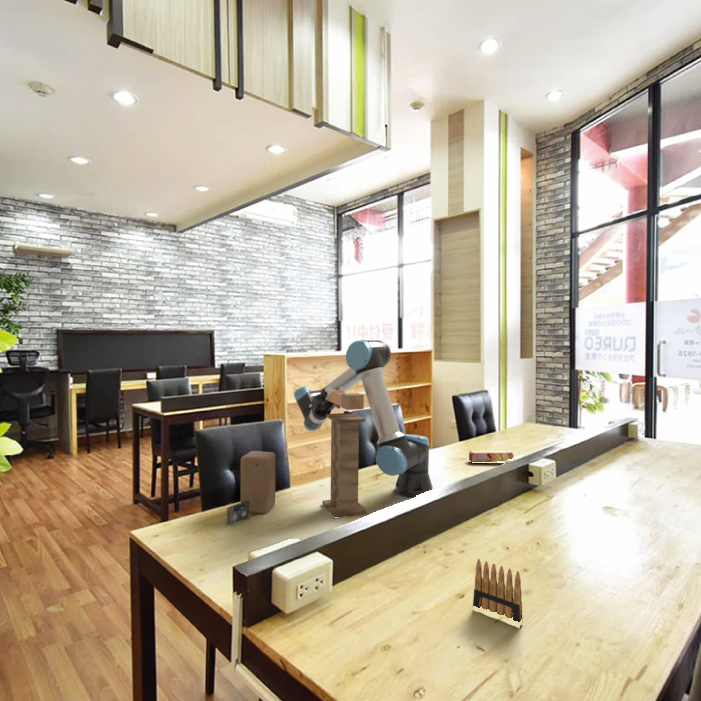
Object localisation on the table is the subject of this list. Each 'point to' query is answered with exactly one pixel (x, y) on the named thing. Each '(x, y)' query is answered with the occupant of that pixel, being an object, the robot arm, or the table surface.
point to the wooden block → (258, 481)
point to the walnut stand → (344, 465)
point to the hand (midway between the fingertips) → (336, 389)
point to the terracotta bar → (347, 399)
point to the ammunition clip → (498, 592)
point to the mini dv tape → (238, 512)
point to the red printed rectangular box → (490, 456)
